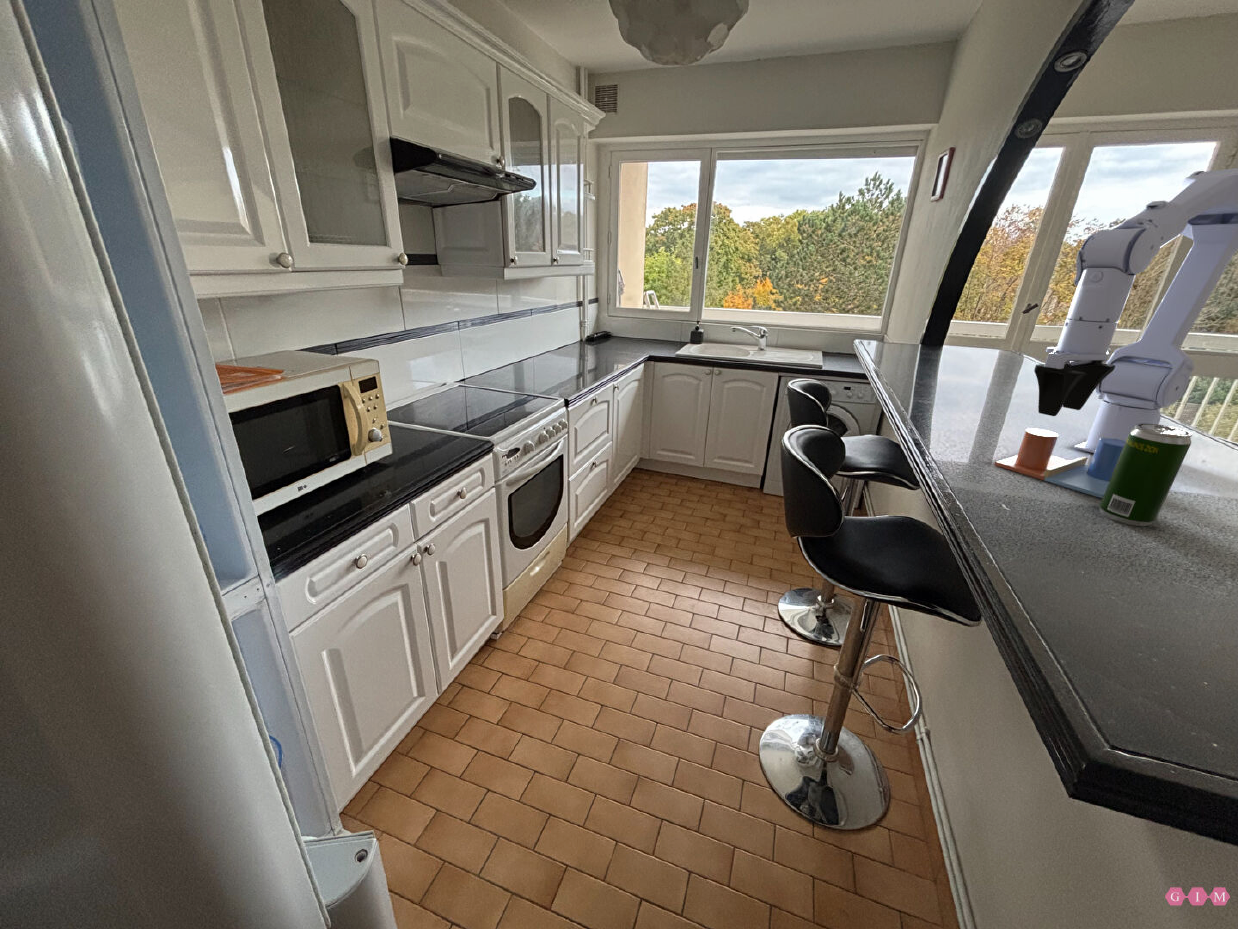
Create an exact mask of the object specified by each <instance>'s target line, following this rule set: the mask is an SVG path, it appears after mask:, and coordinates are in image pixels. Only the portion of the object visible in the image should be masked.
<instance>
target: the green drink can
mask: <svg viewBox="0 0 1238 929" xmlns="http://www.w3.org/2000/svg"><path fill="white" fill-rule="evenodd" d="M1192 437H1193V432H1190V431H1189V430H1186V429H1183V428H1180V427H1176V426H1171V425H1164V424H1160V423H1159V424H1149V423H1138V424H1136V425H1135V428H1134V429H1132V430H1131V431H1130V433H1129V435H1128V438H1127V440H1126V442H1125V445H1124V447H1123V450H1122V452H1121V455H1120V457H1119V459H1118V462H1117V464H1116V467H1115V469H1114V472H1113V474H1112V476H1111V479H1110V481H1109V484H1108V486H1107V489H1106V491H1105V493H1104V496H1103V498H1101V500H1100V503H1099V512H1100V514H1101V515H1103V517H1106V518H1107V519H1109V520H1111V521H1115V522H1117V523H1121V524H1125V525H1129V526H1135V527H1147V526H1150V525H1152V524H1153V523H1154V522H1156V520H1157V518H1158V516H1159V514H1160V512H1161V510H1162V507H1163V505H1164V503H1165V501H1166V499H1167V497H1168V495H1169V492H1170V490H1171V488H1172V486H1173V484H1174V482H1175V480H1176V477H1177V475H1178V474H1179V471H1180V469H1181V467H1182V465H1183V462H1184V460H1185V458H1186V457H1187V456H1186V455H1187V453H1188V452H1189V450H1190V447H1191V445H1192V439H1191V438H1192Z"/></svg>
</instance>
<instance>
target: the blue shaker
mask: <svg viewBox="0 0 1238 929" xmlns="http://www.w3.org/2000/svg"><path fill="white" fill-rule="evenodd" d="M1125 442H1126V441H1123V440H1118V439H1111V438H1101V439H1100V440H1099V442H1098V445H1097V447H1096V450H1095V452H1094V453H1093V455H1092V457H1091V460H1090V463H1089V465H1088V466H1089V468H1088V470H1087V474H1088V475H1089V476H1091V477H1094V478H1097V479H1101V480H1105V481H1110V479H1111V476H1112V474H1113V472H1114V469H1115V467H1116V464H1117V462H1118V459H1119V457H1120V455H1121V452H1122V450H1123V447H1124V445H1125Z"/></svg>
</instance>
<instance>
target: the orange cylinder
mask: <svg viewBox="0 0 1238 929" xmlns="http://www.w3.org/2000/svg"><path fill="white" fill-rule="evenodd" d="M1058 438H1059V434H1058V433H1056V432H1053V431H1050V430H1046V429H1041V428H1040V429H1039V428H1027V429H1025V432H1024V435H1023V438H1022V441H1021V444H1020V446H1019V448H1018V449H1019V450H1018V453H1017V455H1018V456H1017V459H1016V462H1015V463H1016V464H1017V465H1019V466H1022V467H1025V468H1029V469H1034V470H1045V469H1047V466H1048V463H1049V460H1050V457H1051V455H1052V454H1053V452H1054V449H1055V447H1056V444H1057V441H1058ZM1052 456H1053V455H1052Z"/></svg>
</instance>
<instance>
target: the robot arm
mask: <svg viewBox="0 0 1238 929" xmlns="http://www.w3.org/2000/svg"><path fill="white" fill-rule="evenodd" d="M1180 235H1181V236H1183V237H1186V238H1188V239H1190V240H1192V242H1193V244H1192V246H1191V247H1190V249H1189V251H1188V253H1187V254H1186V257H1185V258H1184V260H1183V262H1182V264H1181V266H1180V268H1179V269H1178V271H1177V273H1176V274H1175V276H1174V278H1173V280H1172V282H1171V283H1170V285H1169V287H1168V289H1167V291H1166V293H1165V294H1164V296H1163V298H1162V300H1161V301H1160V303H1159V304H1158V306H1157V308H1156V310H1155V311H1154V314H1153V315H1152V317H1151V319H1150V321H1149V322H1148V324H1147V326H1146V328H1145V329H1144V332H1143V334H1141V337H1140V339H1139V340H1138V341H1135V342H1133V343H1130V344H1128V345H1124V346H1122V347H1119V348H1116V349H1115V350H1114V351H1113V353H1112V354H1111V355H1110V353H1111V350H1112V349H1111V348H1110V346H1111V343H1112V340H1113V338H1114V335H1115V332H1116V330H1117V327H1118V325H1119V322H1120V320H1121V316H1122V313H1123V312H1124V309H1125V307H1126V304H1127V300H1128V298H1129V295H1130V293H1131V290H1132V287H1133V285H1134V282H1135V279H1136V276H1137V275H1138V274H1140V273H1143V272H1144V271H1145V270H1146V269H1147V268H1148V267H1149V265H1150V264H1151V262H1152V261H1153V259H1154V257H1156V256H1157V255H1158V253H1159V252H1160V251H1161V248H1163V247H1164V246H1166V245H1167V244H1169V243H1170V242H1171V241H1173V240H1174V239H1176V238H1177V237H1179V236H1180ZM1236 252H1238V167H1235V168H1226V169H1216V170H1207V171H1204V170H1197V171H1194V172H1192V173H1191V174H1190V175H1189V176H1187V177H1185V178H1184V179H1183V181H1182V182H1181V184H1180V185H1179V188H1178V190H1177V192H1176V194H1175V195H1174V196H1173V197H1172V198H1171V199H1169V201H1166V200H1154V201H1152V200H1151V201H1150V202H1149V203H1147V204H1146V205H1145V207H1144V208H1143V209H1142V210H1140V211H1139V212H1136V213H1135V214H1133V215H1132V216H1131V217H1129V218H1127V219H1125V220H1124V221H1123V222H1121V223H1120V224H1118V225H1116V226H1115V227H1113V228H1112V229H1111V228H1110V229H1100V230H1098V231H1096V232H1095V233H1093V234H1091V235H1089V236H1088V237H1087V238H1085V240H1084V242H1083V243H1082V245H1081V247H1080V249H1079V250H1078V251H1077V254H1076V258H1075V260H1076V261H1075V267H1076V273H1075V276H1074V280H1073V281H1074V283H1073V284H1074V286H1076V288H1075V291H1074V294H1073V296H1072V299H1071V303H1070V306H1069V309H1068V312H1067V315H1066V319H1065V321H1064V324H1063V327H1062V330H1061V333H1060V336H1059V340H1058V342H1057V345H1056V346H1049V347H1046V350H1045V352H1046V353H1048V354H1047V357H1046V359H1045V363H1039V364H1036V365H1035V366H1034V374H1035V377H1036V380H1037V385H1038V404H1037V406H1038V407H1037V408H1038V410H1037V411H1038V414H1041V415H1047V416H1051V417H1056V416H1057V415H1058V414H1059V413H1060V411H1061V409H1062V408H1065V409H1071V410H1075V411H1080V410H1082V408H1084V406H1085V404H1086V403H1087V402H1088V400H1089V399H1090V397H1091V395H1093V393H1094V391H1095V393H1096V394H1097V395H1098V398H1097V399H1098V400H1101V401H1100V405H1099V408H1098V410H1097V412H1096V414H1095V418H1094V421H1093V423H1092V426H1091V429H1090V431H1089V434H1088V436H1087V439H1086V441H1085V442H1082V443H1079V444H1075V445H1074V446H1073V448H1074V449H1075V450H1079V451H1080V450H1081V451H1084V452H1088V453H1092V454H1094V452H1095V450H1096V447H1097V445H1098V442H1099V440H1100V439H1101V438H1111V439H1118V440H1123V441H1126V440H1127V438H1128V435H1129V433H1130V431H1131V430H1132V429H1134V428H1135V425H1136V424H1138V423H1149V424H1159V425H1160V422H1161V419H1162V417H1161V411H1160V410H1161V409H1163V408H1167V407H1170V406H1172V405H1174V404H1175V403H1176V402H1178V401H1179V400H1180V399H1181V397H1183V395H1184V394H1185V392H1186V389H1187V387H1188V385H1189V381H1190V379H1191V378H1190V377H1191V375H1192V373H1193V371H1194V370H1195V363H1194V361H1193V359H1192V358H1191V357H1190V356H1189V355H1188V354H1187V353H1186V352H1185V351H1184V349H1182V348H1181V346H1182V345H1183V343H1184V341H1185V339H1186V338H1187V336H1188V334H1189V333H1190V331H1191V329H1192V327H1193V326H1194V324H1195V322H1196V320H1198V317H1199V316H1200V314H1201V312H1202V311H1203V308H1204V307H1205V305H1206V304H1207V302H1208V300H1209V298H1210V297H1211V294H1212V293H1213V291H1214V290H1215V288H1216V286H1217V285H1218V283H1219V281H1220V279H1221V278H1222V276H1223V274H1224V273H1225V270H1226V269H1227V267H1228V265H1229V264H1230V262H1231V260H1232V259H1233V257H1234V256H1235V254H1236ZM1109 356H1110V357H1109Z"/></svg>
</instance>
